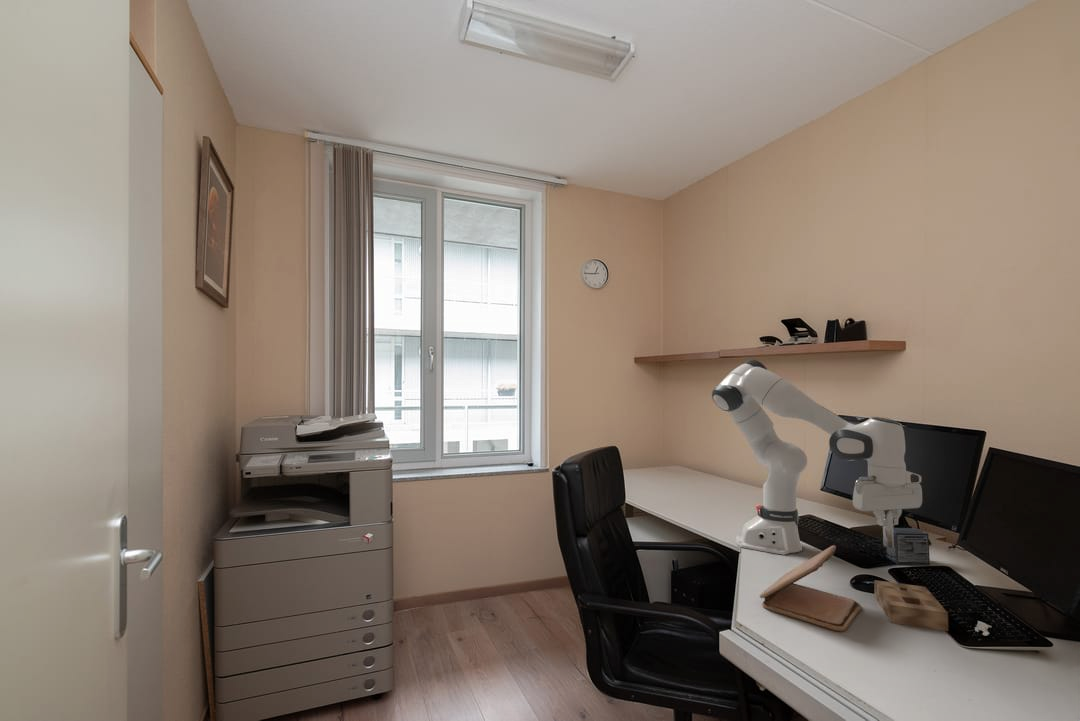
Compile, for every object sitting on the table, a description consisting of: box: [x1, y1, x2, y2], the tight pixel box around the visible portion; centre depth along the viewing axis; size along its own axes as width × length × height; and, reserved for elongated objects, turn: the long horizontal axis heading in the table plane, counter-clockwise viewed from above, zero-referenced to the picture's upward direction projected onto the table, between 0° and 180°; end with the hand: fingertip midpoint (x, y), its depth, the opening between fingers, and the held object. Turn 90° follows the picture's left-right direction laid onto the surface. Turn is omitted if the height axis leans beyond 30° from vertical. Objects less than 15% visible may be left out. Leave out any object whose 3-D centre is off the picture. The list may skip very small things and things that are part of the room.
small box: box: [885, 527, 931, 566], centre depth 166 cm, size 11×6×10 cm, turn 84°
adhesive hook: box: [974, 620, 992, 637], centre depth 120 cm, size 3×3×3 cm
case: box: [759, 545, 862, 632], centre depth 135 cm, size 20×21×16 cm
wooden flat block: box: [873, 579, 949, 632], centre depth 131 cm, size 12×16×4 cm
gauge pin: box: [882, 510, 894, 548], centre depth 137 cm, size 2×2×11 cm
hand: (887, 524), depth 138 cm, fingers closed on gauge pin, 2 cm apart
